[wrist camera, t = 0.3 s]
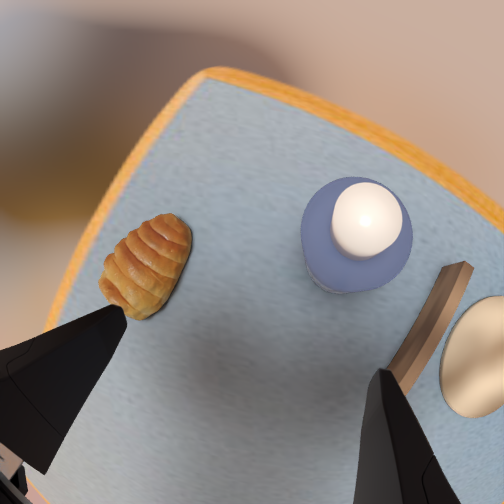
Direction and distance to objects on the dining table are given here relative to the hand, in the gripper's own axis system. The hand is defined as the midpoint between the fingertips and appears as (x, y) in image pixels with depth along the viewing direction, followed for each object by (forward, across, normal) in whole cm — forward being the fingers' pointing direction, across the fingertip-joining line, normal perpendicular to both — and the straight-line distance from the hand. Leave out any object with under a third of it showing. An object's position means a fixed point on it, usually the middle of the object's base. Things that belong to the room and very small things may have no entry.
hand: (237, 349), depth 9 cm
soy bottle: (+14, -4, +4) cm, 15 cm away
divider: (+11, -11, +8) cm, 17 cm away
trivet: (+10, -19, +9) cm, 24 cm away
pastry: (+12, +12, +7) cm, 19 cm away
